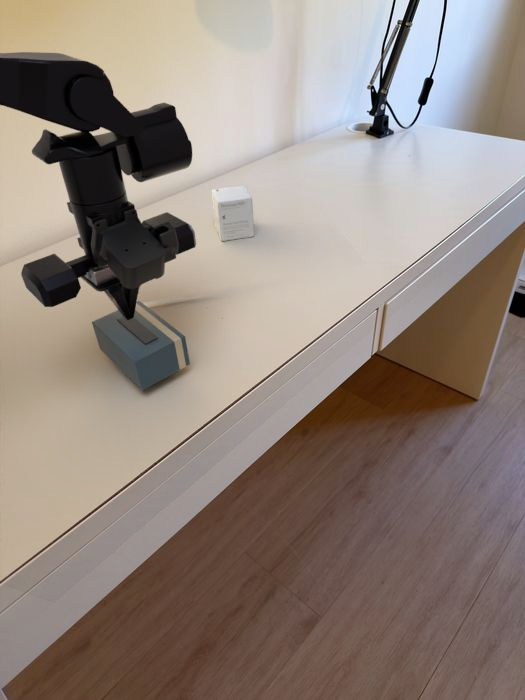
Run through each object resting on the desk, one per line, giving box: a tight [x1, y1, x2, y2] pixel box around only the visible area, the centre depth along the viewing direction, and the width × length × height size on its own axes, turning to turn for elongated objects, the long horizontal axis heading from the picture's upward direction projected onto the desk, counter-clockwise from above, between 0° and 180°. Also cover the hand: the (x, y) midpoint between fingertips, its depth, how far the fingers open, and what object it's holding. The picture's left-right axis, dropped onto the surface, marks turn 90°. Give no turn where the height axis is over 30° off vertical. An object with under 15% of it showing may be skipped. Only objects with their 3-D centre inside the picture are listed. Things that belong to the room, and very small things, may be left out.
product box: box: [211, 185, 255, 242], centre depth 93 cm, size 6×6×7 cm
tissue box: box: [91, 300, 191, 391], centre depth 67 cm, size 11×5×7 cm
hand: (128, 317), depth 64 cm, fingers closed
